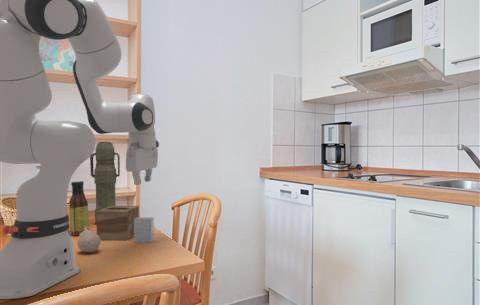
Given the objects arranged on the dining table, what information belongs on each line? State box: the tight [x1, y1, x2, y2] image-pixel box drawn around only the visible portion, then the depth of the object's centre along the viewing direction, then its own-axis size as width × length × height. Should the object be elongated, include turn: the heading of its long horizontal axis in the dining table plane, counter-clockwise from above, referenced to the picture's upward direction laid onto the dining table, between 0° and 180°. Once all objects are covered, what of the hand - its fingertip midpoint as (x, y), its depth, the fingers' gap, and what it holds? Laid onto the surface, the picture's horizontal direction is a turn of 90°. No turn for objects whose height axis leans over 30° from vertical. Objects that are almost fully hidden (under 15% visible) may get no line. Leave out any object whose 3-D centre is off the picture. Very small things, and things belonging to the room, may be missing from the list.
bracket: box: [133, 216, 155, 243], centre depth 112 cm, size 2×6×8 cm, turn 87°
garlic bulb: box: [77, 226, 102, 253], centre depth 101 cm, size 7×6×8 cm
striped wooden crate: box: [96, 205, 140, 241], centre depth 120 cm, size 11×11×10 cm
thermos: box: [89, 141, 121, 226], centre depth 141 cm, size 9×12×35 cm
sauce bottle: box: [69, 180, 90, 237], centre depth 122 cm, size 7×6×20 cm
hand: (142, 183), depth 112 cm, fingers open, 8 cm apart
